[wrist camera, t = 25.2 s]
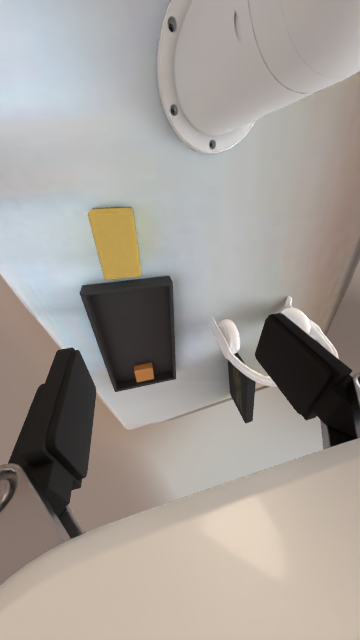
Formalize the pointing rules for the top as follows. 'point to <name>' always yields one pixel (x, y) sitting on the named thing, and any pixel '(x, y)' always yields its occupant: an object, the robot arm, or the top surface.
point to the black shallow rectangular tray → (133, 328)
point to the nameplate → (241, 391)
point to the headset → (231, 340)
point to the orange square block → (144, 372)
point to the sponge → (116, 241)
